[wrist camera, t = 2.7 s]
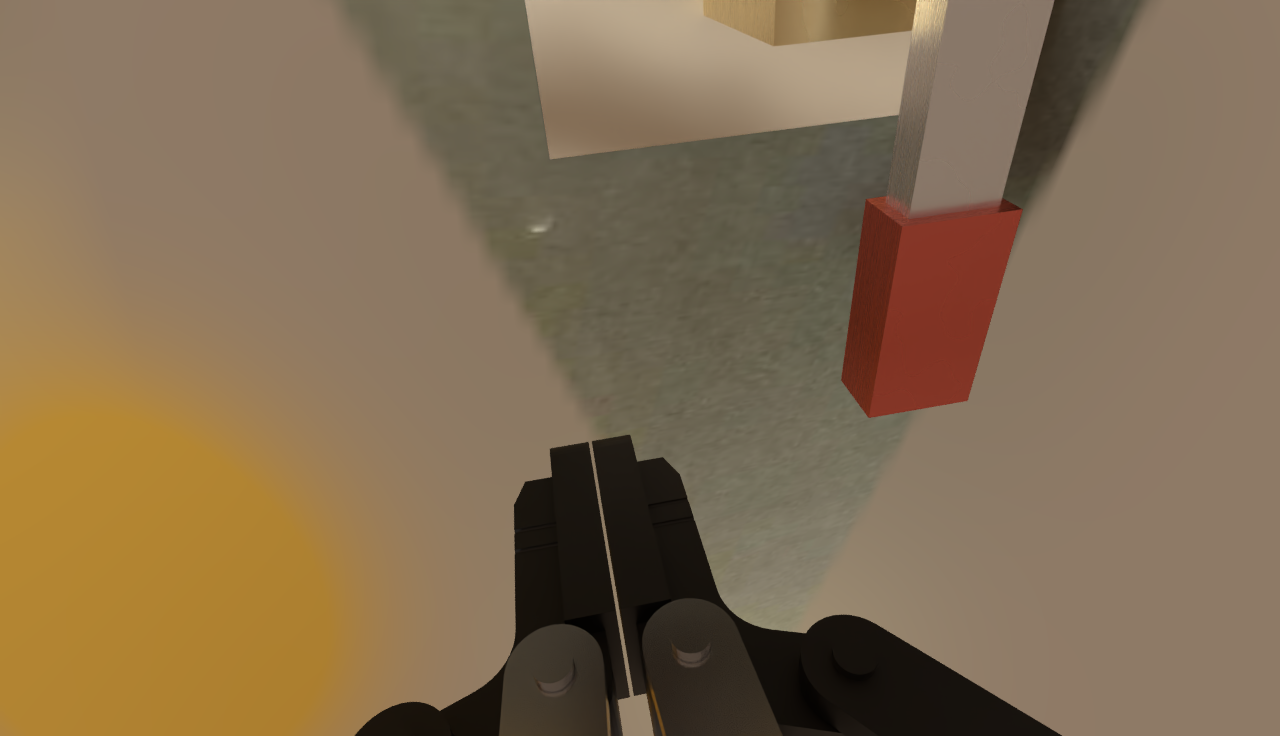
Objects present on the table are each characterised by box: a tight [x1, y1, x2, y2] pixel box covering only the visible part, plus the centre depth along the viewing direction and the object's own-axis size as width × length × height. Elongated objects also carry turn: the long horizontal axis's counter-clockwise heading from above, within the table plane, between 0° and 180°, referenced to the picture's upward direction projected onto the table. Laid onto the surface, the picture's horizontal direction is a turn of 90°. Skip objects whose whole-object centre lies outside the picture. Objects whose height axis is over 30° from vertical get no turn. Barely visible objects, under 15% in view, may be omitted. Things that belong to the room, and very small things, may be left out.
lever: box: [841, 0, 1054, 418], centre depth 13 cm, size 12×3×2 cm, turn 5°
